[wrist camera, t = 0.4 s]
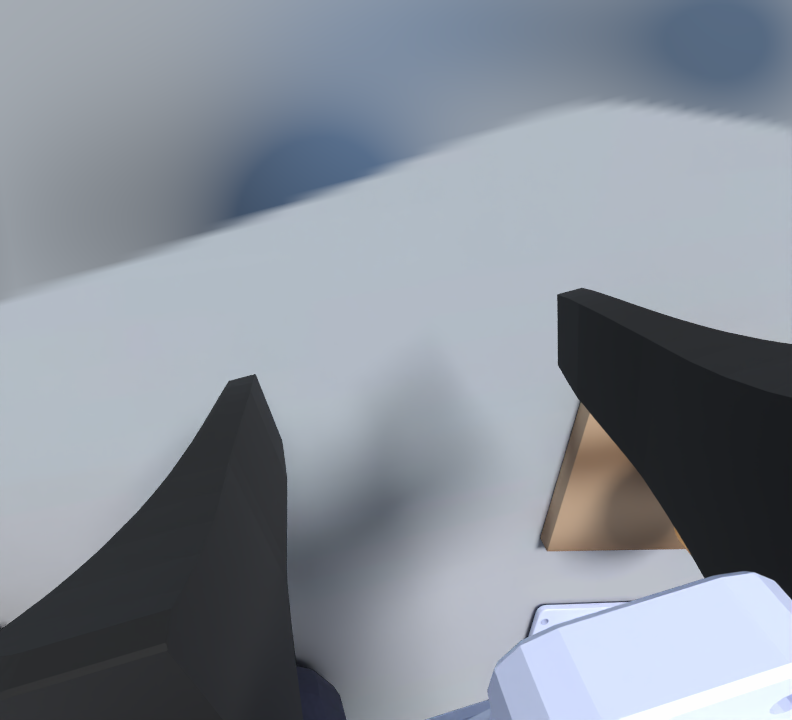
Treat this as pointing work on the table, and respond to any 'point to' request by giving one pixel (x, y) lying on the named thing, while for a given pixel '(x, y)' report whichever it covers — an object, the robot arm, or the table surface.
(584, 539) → the wooden fixture board
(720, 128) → the table surface
